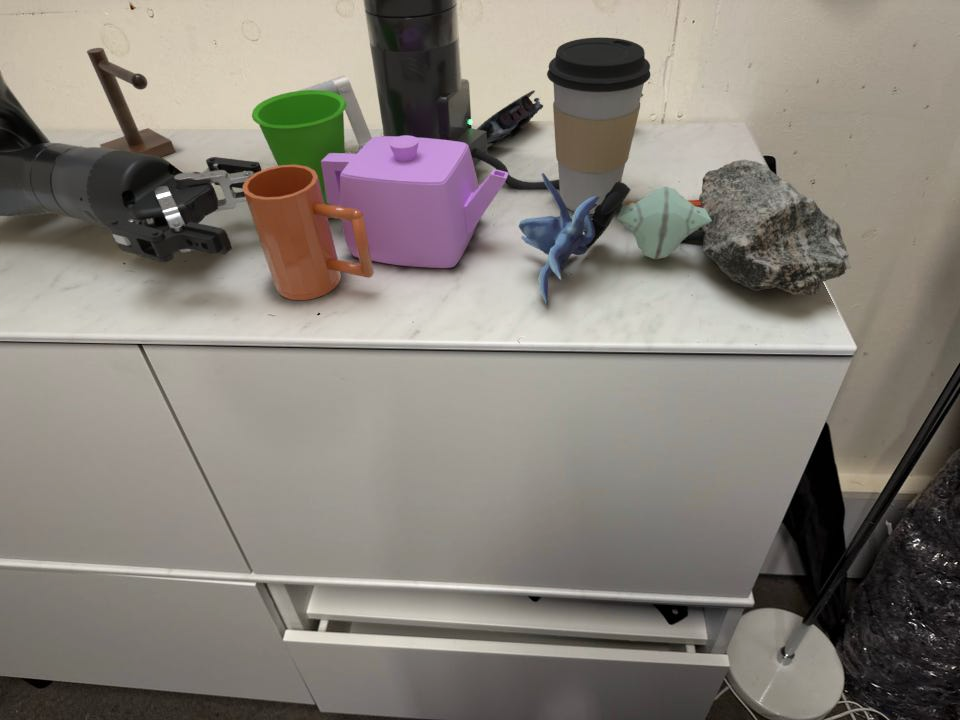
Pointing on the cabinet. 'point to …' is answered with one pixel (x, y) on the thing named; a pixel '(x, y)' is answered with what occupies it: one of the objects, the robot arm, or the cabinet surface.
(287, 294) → the mug
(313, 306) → the cabinet surface
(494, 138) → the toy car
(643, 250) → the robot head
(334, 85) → the tablet stand
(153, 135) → the mug stand
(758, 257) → the rock
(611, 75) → the coffee cup
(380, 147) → the teapot
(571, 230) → the figurine
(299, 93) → the cup
